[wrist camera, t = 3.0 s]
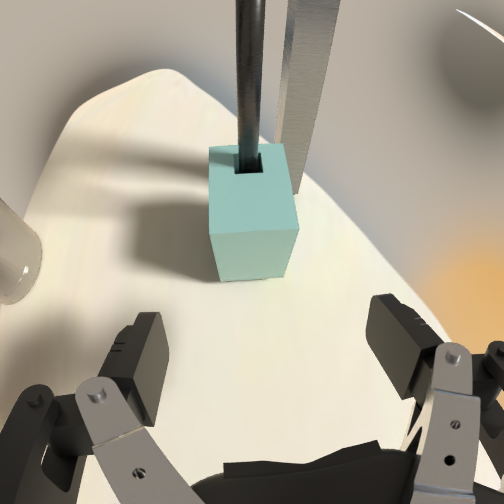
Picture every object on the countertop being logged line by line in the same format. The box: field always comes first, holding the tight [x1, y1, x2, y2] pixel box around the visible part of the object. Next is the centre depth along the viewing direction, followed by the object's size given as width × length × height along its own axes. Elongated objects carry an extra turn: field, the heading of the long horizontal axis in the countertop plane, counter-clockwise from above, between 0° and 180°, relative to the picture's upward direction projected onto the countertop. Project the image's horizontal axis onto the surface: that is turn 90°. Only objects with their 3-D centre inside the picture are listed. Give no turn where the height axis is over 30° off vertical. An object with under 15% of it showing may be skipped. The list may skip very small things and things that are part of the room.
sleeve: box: [209, 143, 299, 282], centre depth 21 cm, size 7×5×8 cm
